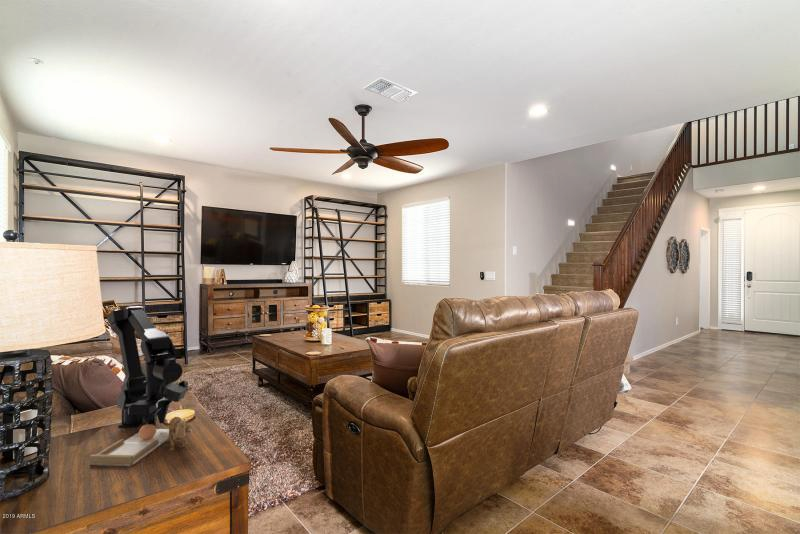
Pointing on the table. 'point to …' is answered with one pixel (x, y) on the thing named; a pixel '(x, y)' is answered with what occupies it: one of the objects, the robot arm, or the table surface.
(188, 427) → the lion figurine
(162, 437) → the lane
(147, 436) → the ball
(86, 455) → the table surface
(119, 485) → the table surface
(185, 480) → the table surface
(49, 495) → the table surface
